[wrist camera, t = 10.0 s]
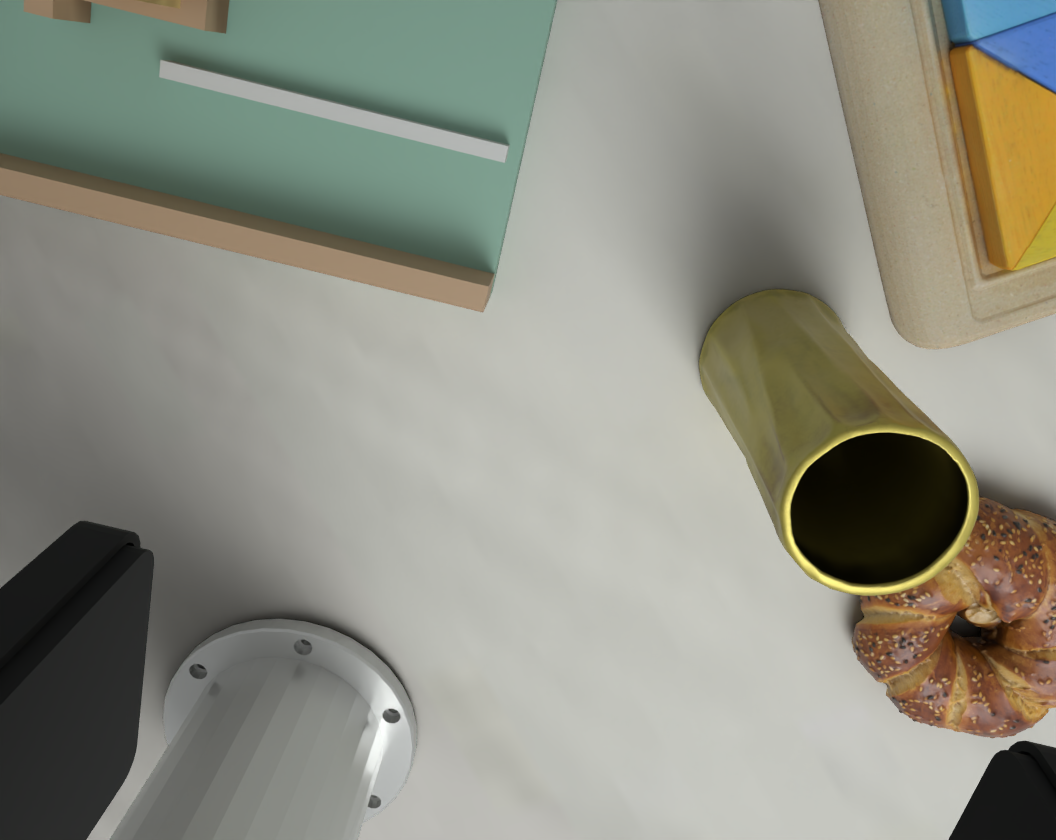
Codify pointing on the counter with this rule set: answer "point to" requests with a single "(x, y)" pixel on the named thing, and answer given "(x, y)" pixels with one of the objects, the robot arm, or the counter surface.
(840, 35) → the wooden puzzle
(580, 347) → the counter surface
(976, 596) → the sesame bagel
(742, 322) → the vase
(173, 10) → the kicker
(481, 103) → the pitch
